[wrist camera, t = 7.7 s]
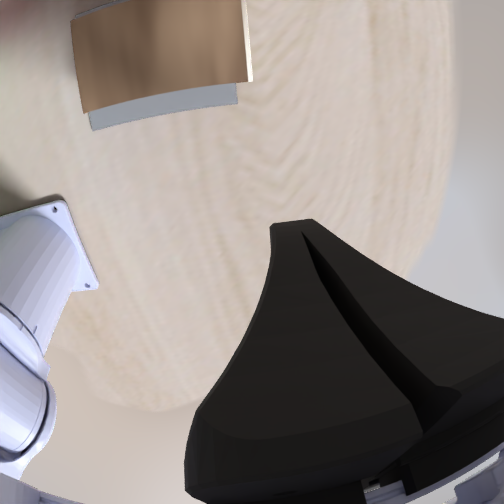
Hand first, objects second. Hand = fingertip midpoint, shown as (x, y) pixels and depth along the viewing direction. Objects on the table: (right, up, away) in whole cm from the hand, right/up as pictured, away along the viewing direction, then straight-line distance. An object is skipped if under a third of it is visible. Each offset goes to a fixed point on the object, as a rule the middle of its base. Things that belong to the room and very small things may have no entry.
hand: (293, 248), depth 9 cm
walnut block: (-2, +10, +2) cm, 11 cm away
